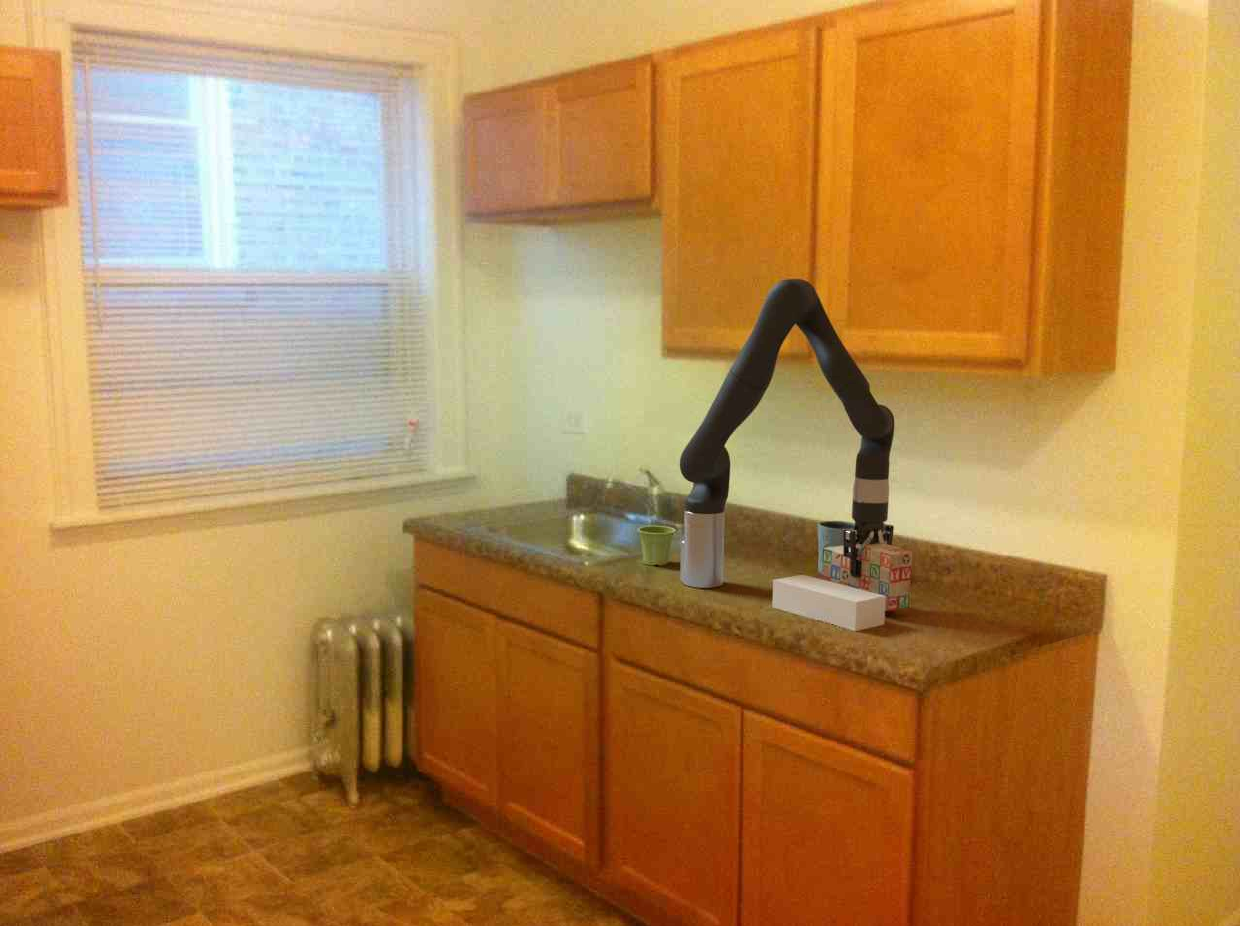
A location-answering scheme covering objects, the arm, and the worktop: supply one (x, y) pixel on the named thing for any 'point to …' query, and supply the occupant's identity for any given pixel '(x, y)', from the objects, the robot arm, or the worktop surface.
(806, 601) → the block
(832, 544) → the blue cup
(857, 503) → the robot arm
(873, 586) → the stack of blocks
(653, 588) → the worktop surface
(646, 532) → the plant pot
